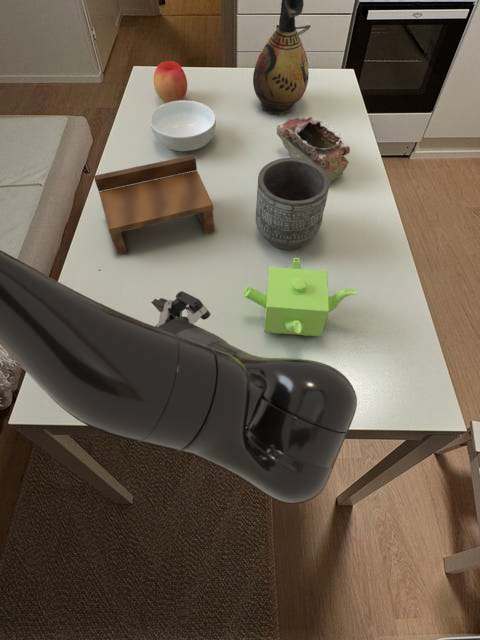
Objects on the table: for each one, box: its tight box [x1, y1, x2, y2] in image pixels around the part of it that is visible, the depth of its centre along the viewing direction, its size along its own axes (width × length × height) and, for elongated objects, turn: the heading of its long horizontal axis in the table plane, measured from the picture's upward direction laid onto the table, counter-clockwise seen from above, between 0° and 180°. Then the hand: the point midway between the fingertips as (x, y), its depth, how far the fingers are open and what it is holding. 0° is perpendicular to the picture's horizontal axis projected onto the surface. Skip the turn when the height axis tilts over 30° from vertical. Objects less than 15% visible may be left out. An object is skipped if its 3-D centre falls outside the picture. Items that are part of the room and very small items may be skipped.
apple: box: [153, 60, 188, 104], centre depth 119 cm, size 10×10×10 cm
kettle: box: [242, 257, 358, 337], centre depth 76 cm, size 15×14×11 cm
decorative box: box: [276, 115, 351, 183], centre depth 103 cm, size 13×20×10 cm, turn 28°
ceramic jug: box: [252, 0, 310, 116], centre depth 110 cm, size 17×15×30 cm
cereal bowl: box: [149, 99, 217, 152], centre depth 109 cm, size 17×17×7 cm
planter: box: [255, 157, 331, 251], centre depth 87 cm, size 14×14×15 cm
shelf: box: [93, 154, 215, 255], centre depth 90 cm, size 22×14×11 cm, turn 110°
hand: (135, 327), depth 57 cm, fingers open, 8 cm apart
